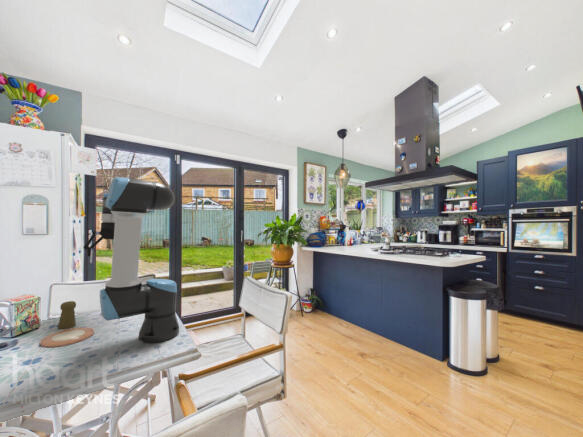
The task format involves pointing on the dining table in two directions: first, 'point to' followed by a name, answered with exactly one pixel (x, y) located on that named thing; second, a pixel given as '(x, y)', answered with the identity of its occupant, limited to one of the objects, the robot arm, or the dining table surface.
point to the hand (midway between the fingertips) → (107, 261)
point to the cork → (67, 315)
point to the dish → (67, 337)
